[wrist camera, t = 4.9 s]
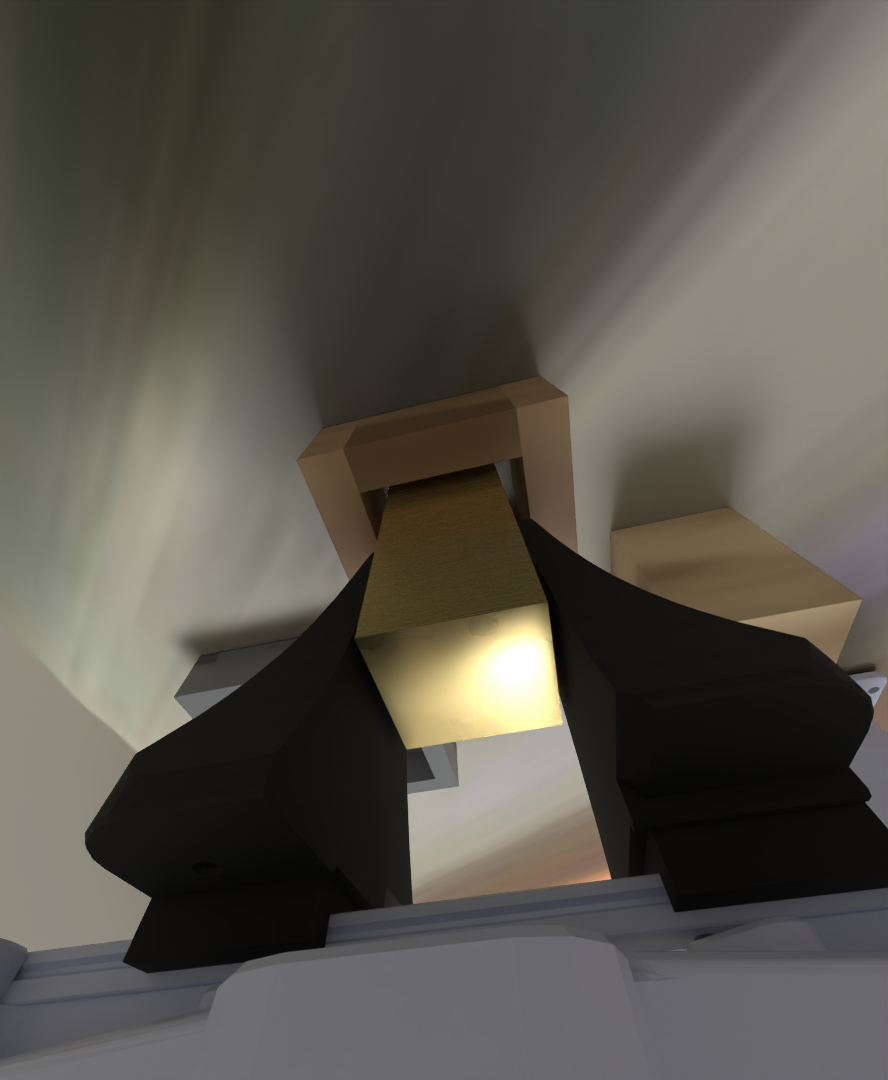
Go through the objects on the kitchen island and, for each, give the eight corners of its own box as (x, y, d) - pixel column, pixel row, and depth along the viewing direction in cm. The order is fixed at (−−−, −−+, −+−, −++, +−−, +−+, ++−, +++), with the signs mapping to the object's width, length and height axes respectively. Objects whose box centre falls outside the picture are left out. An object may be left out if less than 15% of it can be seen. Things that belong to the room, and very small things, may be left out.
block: (715, 596, 18) (820, 707, 13) (611, 615, 18) (676, 729, 13) (729, 506, 15) (865, 600, 10) (609, 531, 16) (688, 632, 11)
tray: (456, 745, 23) (458, 786, 21) (290, 772, 24) (278, 813, 22) (409, 616, 18) (406, 654, 16) (200, 656, 18) (173, 697, 17)
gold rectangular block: (505, 542, 14) (563, 724, 8) (417, 561, 14) (406, 749, 8) (491, 456, 12) (547, 601, 6) (391, 478, 13) (354, 638, 7)
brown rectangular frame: (557, 560, 16) (581, 609, 14) (386, 594, 17) (378, 647, 14) (539, 375, 13) (568, 396, 10) (322, 428, 13) (296, 459, 11)
